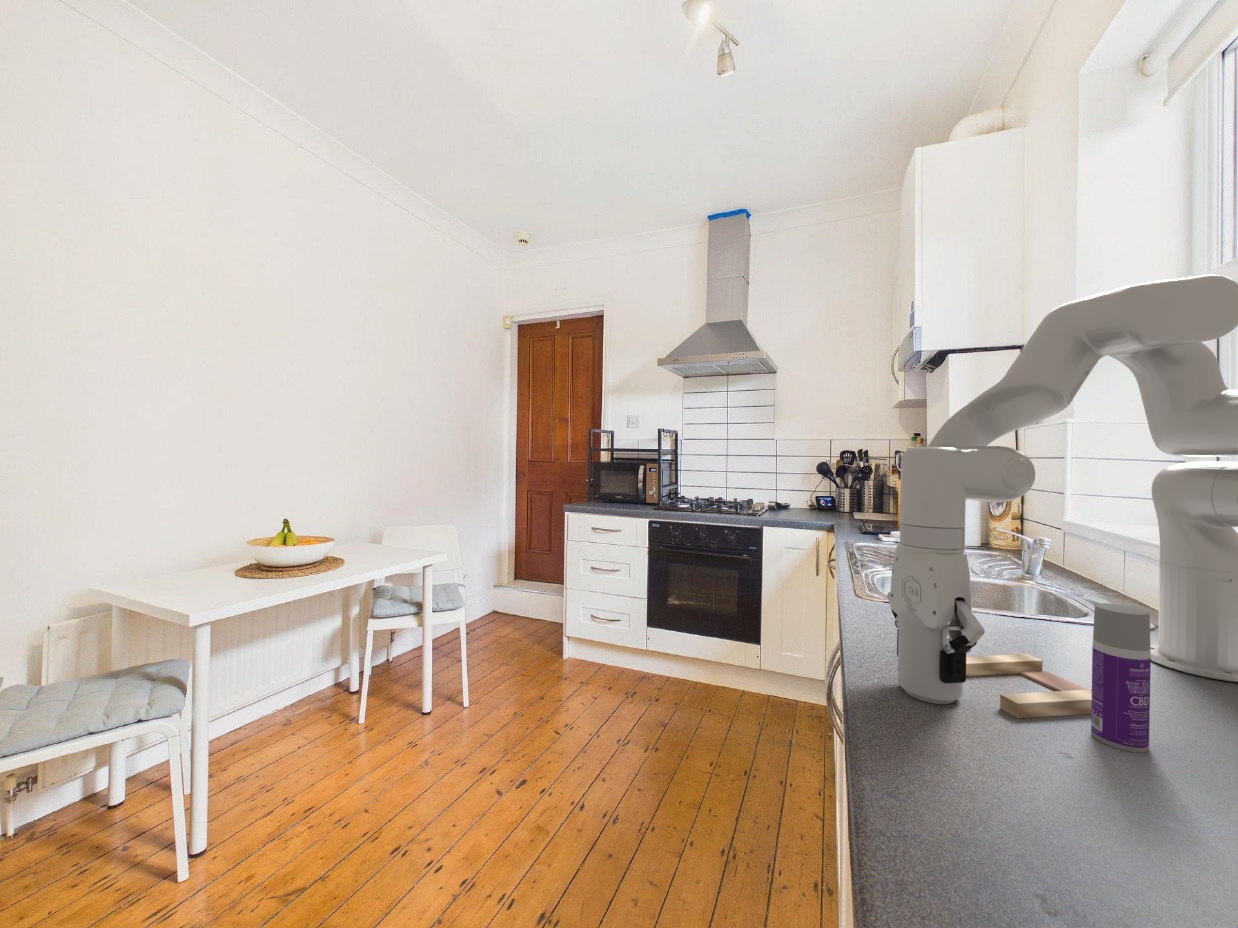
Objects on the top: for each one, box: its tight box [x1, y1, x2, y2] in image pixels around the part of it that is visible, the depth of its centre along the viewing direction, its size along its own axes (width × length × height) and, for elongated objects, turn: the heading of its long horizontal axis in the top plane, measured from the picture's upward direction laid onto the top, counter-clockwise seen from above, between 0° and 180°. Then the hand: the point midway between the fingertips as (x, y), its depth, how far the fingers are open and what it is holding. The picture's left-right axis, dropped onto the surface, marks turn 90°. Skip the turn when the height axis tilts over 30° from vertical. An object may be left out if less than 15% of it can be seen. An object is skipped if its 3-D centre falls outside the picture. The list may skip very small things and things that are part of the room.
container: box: [1090, 602, 1152, 753], centre depth 58 cm, size 5×5×15 cm
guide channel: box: [966, 653, 1092, 719], centre depth 71 cm, size 16×14×2 cm
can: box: [897, 605, 964, 705], centre depth 69 cm, size 8×8×12 cm
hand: (929, 667), depth 69 cm, fingers closed on can, 7 cm apart
